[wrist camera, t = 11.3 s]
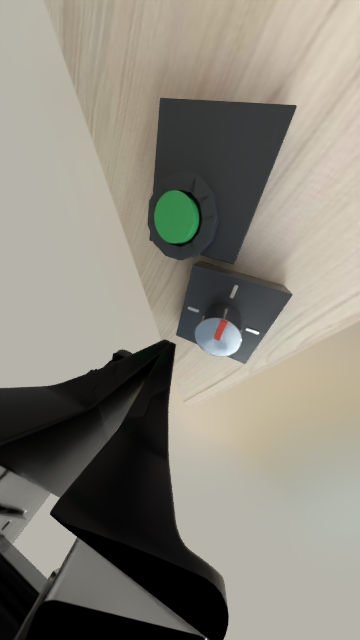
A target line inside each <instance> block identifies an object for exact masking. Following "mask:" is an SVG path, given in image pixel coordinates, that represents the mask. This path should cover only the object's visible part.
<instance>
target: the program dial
mask: <svg viewBox="0 0 360 640" xmlns="http://www.w3.org/2000/svg"><path fill="white" fill-rule="evenodd" d="M195 340H196V342H197V344H198V345H199V347H200V348H201V349H202V350H204V351H205V352H207V353H209V354H211V355H214V356H228V355H231V354H233V353H234V352H236V351H237V350H238V349H239V347H240V345H241V341H242V317H241V314H240V312H239V310H238V309H237V308H236V307H234V306H233V305H231V304H229V303H224V302H219V303H215V304H212V305H210V306H209V307H208V308H207V309H206V310H205V312H204V314H203V316H202V318H201V320H200V322H199V324H198V325H197V327H196V330H195Z"/></svg>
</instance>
